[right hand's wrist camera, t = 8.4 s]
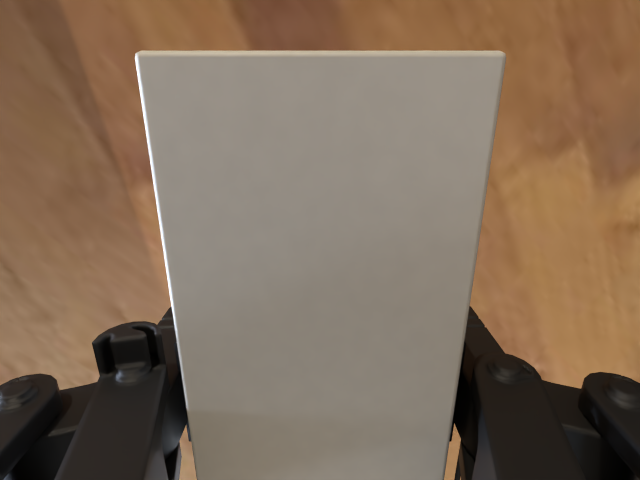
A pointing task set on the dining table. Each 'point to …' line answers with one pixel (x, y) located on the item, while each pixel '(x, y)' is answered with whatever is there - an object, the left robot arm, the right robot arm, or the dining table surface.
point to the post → (320, 250)
